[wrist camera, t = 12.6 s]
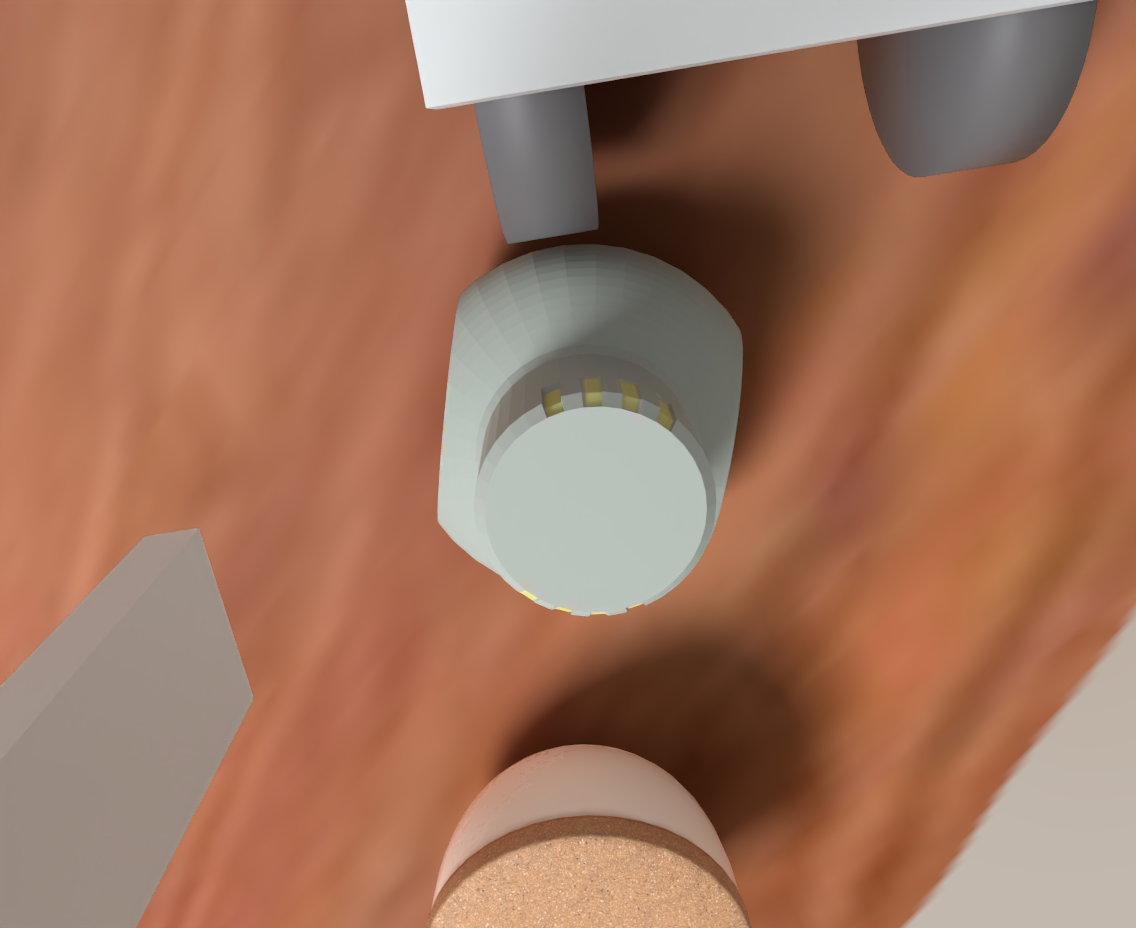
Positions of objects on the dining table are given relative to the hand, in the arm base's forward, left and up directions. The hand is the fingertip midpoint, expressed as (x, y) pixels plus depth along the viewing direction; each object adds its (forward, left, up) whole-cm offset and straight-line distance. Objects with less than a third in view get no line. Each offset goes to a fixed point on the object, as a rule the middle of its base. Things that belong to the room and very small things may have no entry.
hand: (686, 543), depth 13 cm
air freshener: (+1, +3, -20) cm, 20 cm away
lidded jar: (+4, +20, -19) cm, 28 cm away
